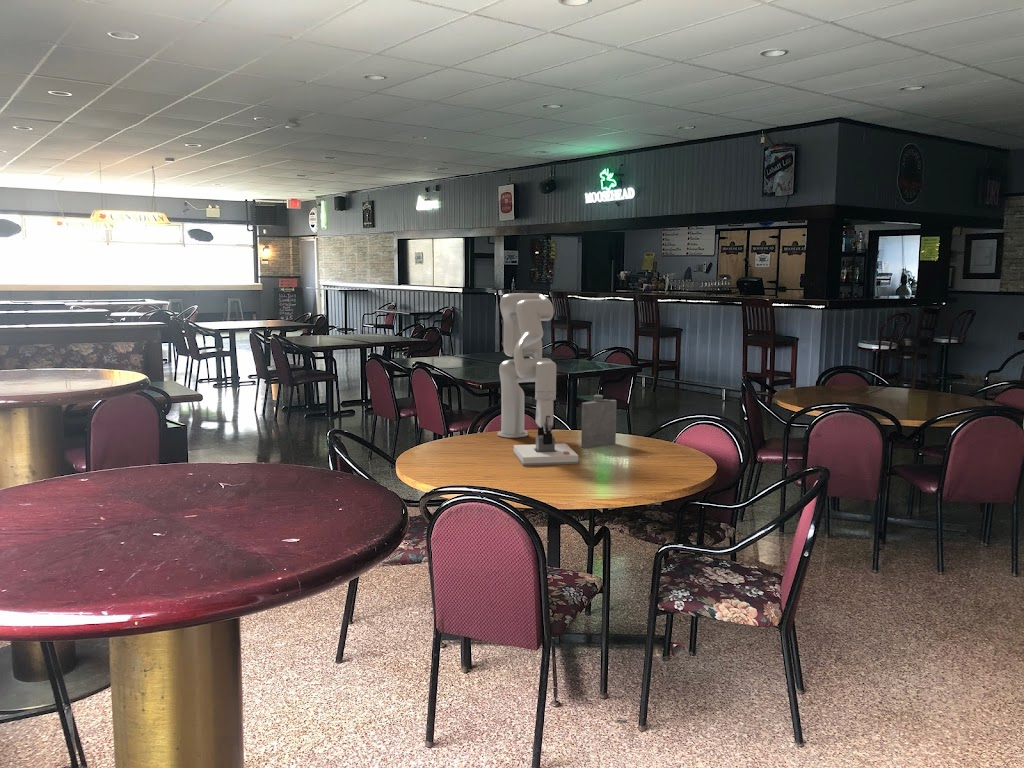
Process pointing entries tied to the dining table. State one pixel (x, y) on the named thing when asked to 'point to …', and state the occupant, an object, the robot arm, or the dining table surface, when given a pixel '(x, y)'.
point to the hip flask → (598, 422)
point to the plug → (544, 448)
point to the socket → (545, 455)
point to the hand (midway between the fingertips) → (544, 441)
